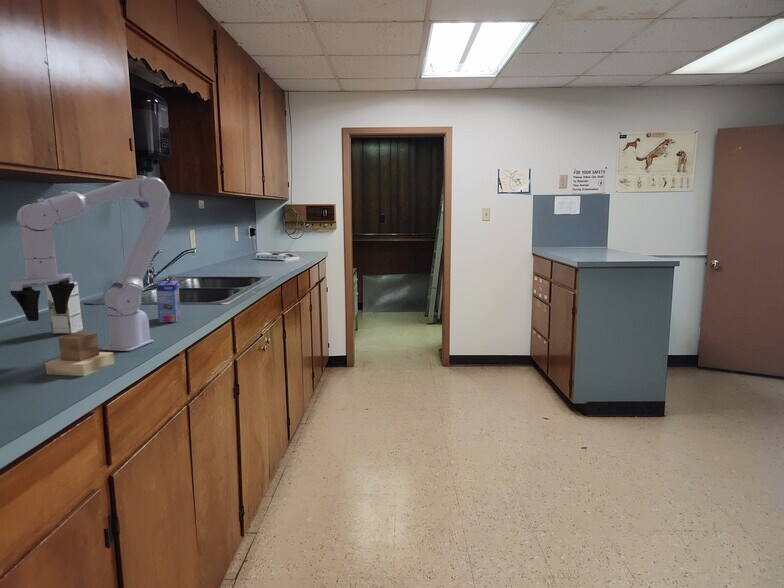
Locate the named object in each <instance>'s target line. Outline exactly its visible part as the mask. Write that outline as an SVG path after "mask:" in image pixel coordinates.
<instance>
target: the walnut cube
mask: <svg viewBox="0 0 784 588" xmlns="http://www.w3.org/2000/svg"><path fill="white" fill-rule="evenodd" d="M58 344H59V345H58V346H59V351H60V357H61V360H68V361H83V360H86V359H88V358H91V357H94V356H97V355H99V352H100V349H99V340H98V333H97V332H85V331H84V332H82V331H78V332H75V333H72V334H65V335H64V336H60V337H58Z"/></svg>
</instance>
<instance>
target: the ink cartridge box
mask: <svg viewBox="0 0 784 588" xmlns="http://www.w3.org/2000/svg"><path fill="white" fill-rule="evenodd" d="M173 276H174V274H172V275H171V276H170V277H169V279H168V280H164V281H163V280H162V281H160V282H159V283H158V284H157V285H156V299H157V301H156V302H157V316H158V318H157V319H158V324H159V323H161V324H164V323H165V322H175V323H177V322H178V320H179V319H180V318H181V306H180V305H181V303H180V284H179V283H180V282H179V280H172V278H173ZM179 317H180V318H179ZM178 318H179V319H178ZM176 321H177V322H176ZM165 324H166V323H165Z"/></svg>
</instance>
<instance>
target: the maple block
mask: <svg viewBox="0 0 784 588" xmlns="http://www.w3.org/2000/svg"><path fill="white" fill-rule="evenodd" d="M44 364H45V365H44V366H45V371H46V373H45V374H46V375H53V374H54V375H57V376H59V375H60V376H73V377H74V376H77V377H86V376H88V375H90V374H92V373H95V372H97V371H100V370H102V369H104V368H107V367H109V366H111V365H114V364H115V355H114V351H113V352H111V351H110V352H109V351H108V352H107V351H106V352H105V351H99V355H97V356H94V357H91V358H88V359H86V360H83V361H68V360H61V356H60V357H58V358H55V359H52V360H49V361H46V362H45V363H44Z"/></svg>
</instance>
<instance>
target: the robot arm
mask: <svg viewBox="0 0 784 588" xmlns="http://www.w3.org/2000/svg"><path fill="white" fill-rule="evenodd" d="M59 193H60V194H59V195H56V196H52V197H50V198H46V199H44V198H39V199H37V202H32V203H29V204H25V205H22V206H21V207H19V209H18V210H17V214H16V216H15V220H16V222H17V224H19V226H20V228H21V229H20V230H21V236H22V237H21V243H22V250H23V251H22V252H23V258H24V265H25V272H26V273H25V274H26V277H24V278H21V279H17V280H13V281H12V280H11V281H9V289H10V295H11V296H12V297H13V298H14V299H15V301H16V302H17V303H18V304H19V306H20V307H21V309H22V311H23V313H24V315H25V317H26V320H27V321H28V322H37V321H39V316H40V315H39V299H40V295H41V292H42V291H41V290H36V289H35V288H39V287H46V285H47V286H48V288H49V290H50V292H51V295H52V297H53V301H54V307H55V311H56V314H66V311H67V305H68V301H69V297H70V295H71V292H72V290H73V289H74V287H75V285H74V283H69V282H74V280H73V279H74V278H73V273H65V272H64V273H58V267H57V266H58V265H57V258H56V249H55V240H54V236H53V231H52V226H53V225H54V224H56V225H58V224H61V223H65V222H67V221H70V220H71V221H72V219H73V220H74V219H76V218H79V217H82V216H85V215H86V214H87V213H88V210H89V209H90V208H91V207H94V206H97V205H99V204H104V203H107V202H110V201H113V200H117V199H120V198H122V199H126V200H127V199H128V200H129V199H132V200H133V201H134V202H135V203H136V204H137V206H139V207H140V208H141V210H142V212H143V214H144V216H145V218H146V219H144V220H145V221H144V223H143V225H142V227H141V229H140V231H139V234H138V236H137V238H136V240H135V242H134V244H133V246H132V248H131V250H130V253H129V254H128V257H127V259H126V261H125V263H124V266H123V267H122V269H121V271H120V273H119V274H118V275H117V276H116V277H115V278H114V279H113V281H112V283H111V284H110V286H108V287H106V289H105V290H104V291H103V293H102V299H101V300H102V302H103V304H104V305H105V306H106V308H107V311H106V318H107V319H106V321H107V328H108V339H109V345H106V346H104V347H101V351H118V352H123V351H124V352H132V351H134V350H136V349H138V348H141V347H143V346H146V345H148V344H150V343H153V342H154V339H151V334H150V333H151V332H150V320H149V316H148V314H146V312H145V311H143V310H141V309H140V306H141V305H142V293H143V290H144V282H143V280H144V278H145V277H146V274H147V272H148V269H149V267H150V265H151V262H152V261H153V258H154V256H155V254H156V252H157V250H158V247H159V246H160V243H161V241H162V238H163V236H164V234H165V232H166V229H167V227H168V226H169V223H170V221H171V209H170V197H171V192H170V190H169V189H168V187H167V185H166V184H165V182H164V181H163V180H162V179H160V178H159V177H156V176H149V177H148V176H147V177H145V178H135V179H131V180H125V181H124V180H122V181H118V182H115V183H111V184H109V185H106V186H103V187H100V188H96V189H95V190H92V191H89V192H86V193H84V194H83V193H82V194H81V193H79V192H77V191H73V190H72V191H68V190H63V191H60V192H59ZM34 289H35V290H34Z"/></svg>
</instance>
